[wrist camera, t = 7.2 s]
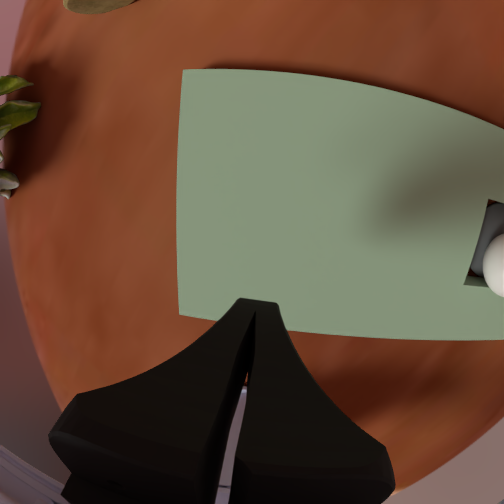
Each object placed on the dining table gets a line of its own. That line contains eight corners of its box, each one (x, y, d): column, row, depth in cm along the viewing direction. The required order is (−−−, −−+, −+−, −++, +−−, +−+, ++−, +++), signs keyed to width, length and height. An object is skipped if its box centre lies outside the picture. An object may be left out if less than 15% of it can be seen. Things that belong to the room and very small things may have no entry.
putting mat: (509, 328, 18) (518, 338, 16) (186, 301, 20) (179, 314, 18) (560, 163, 12) (573, 167, 11) (192, 74, 14) (183, 69, 13)
